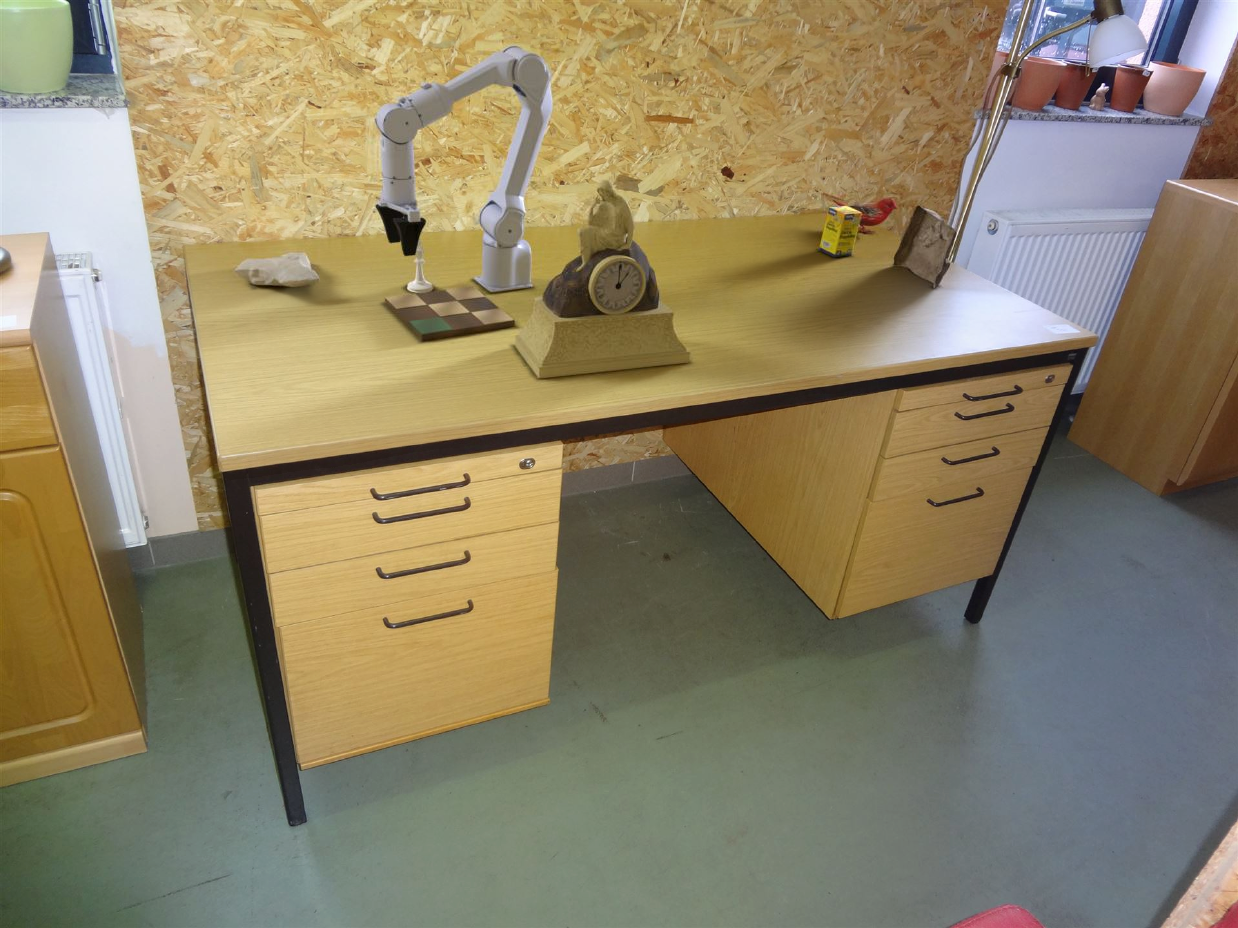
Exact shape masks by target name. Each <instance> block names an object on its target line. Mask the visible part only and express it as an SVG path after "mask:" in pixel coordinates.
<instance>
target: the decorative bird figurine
mask: <svg viewBox="0 0 1238 928" xmlns="http://www.w3.org/2000/svg"><path fill="white" fill-rule="evenodd" d="M832 202H833V203H834V204H836V205H838V207H843V206H848V207H850V208H852V209H855V210H857V211H859V212H862V215H861V219H860V222H859V227H858V230H860V231H863V232H866V233H875V234H876V232H875V231H874V230H873V231H872V230H871V229H868V228H866V227H874V226H877V225H880V224H882V223H884V222H885V221H886V220H887V219H888V217H889V216H890V215H891V214H892V213H893V211H894V210H898V206H897V205H896V203H895V200H894V199H893V198H891V197H890V198H889V197H888V198H884V199H881V200H879V201H877V202H875V203H859V204H852V205H847V204H845V203H842V202H839V201H837V200H835V199H833V200H832Z"/></svg>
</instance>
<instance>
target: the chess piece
mask: <svg viewBox="0 0 1238 928" xmlns="http://www.w3.org/2000/svg"><path fill="white" fill-rule="evenodd" d="M422 244H423V241H422V240H421V238H419V241H418V246H417V250H416V254H415V255H414V256H415V258H414V259H413V263H414V264H416V268H415V269H416V271H415V279H413V280H412V281H409V282H408V283H407V287H406V288H407V290H408V292H411V293H413V294H418V293H426V292H433V290H434V287H433V284H432V282H429V281H427V280H426V279H425V277H424V270H423V264H424V263H426V261H425V259H424V258H423V257H424V253H425V248H424V247H421V245H422Z"/></svg>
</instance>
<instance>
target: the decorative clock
mask: <svg viewBox="0 0 1238 928" xmlns="http://www.w3.org/2000/svg"><path fill="white" fill-rule="evenodd" d="M596 191H597V195H596V196H595V198H593V201H592V202H591V204H590V206H589V209H588V213H587V217H586V224H587V225H582V226H580V227H579V228H577V240H578V254H580V255H579V256H577V257H575V258H574V259H572V260H570V261H569V262H567V264H565V266H564V268H563V269H562V271H561V273H559V274H558V275H555V276H554V277H553V278H552V279H551V280H550V281H549V282H548V283H547V286H546V287H545V290H544V291H543V294H542V296H541V297H534V298H533V307H532V312H531V315H530V317H529V319H528V321H527V323H526V324H525V325H524V326H523V327H522V328H521V330H519V332H518V334H517V335H515V339H514V347H515V349H516V350H517V351H518V352H519V353H520V355H521V357H522V358H523V359H524V360H525V362H526V363H527V364H528V366H529V367H530V369H531V370H532V372H533V373H534V374H535V375H536V377H537V379H549V378H556V377H567V376H575V375H576V376H577V375H584V374H585V375H586V374H593V373H594V374H595V373H603V372H612V371H622V370H631V369H640V368H651V367H659V366H660V367H661V366H669V365H677V364H686V363H687V364H688V363H689V362H690V356H691V351H690V350H689V349H688V348H687V347H685V345H684V344H683V343H682V342H681V341H680V339H679V338H678V335H677V333H676V331H675V329H674V314H675V312H674V311H673V310H672V309H670V307H668V306H667V305H666V304H665V303H664V302H662V301H661V300H660V290H659V286H658V281H657V277H656V273H655V270H654V268H653V267H652V266H651V264H650V262H649V259H648V256H647V255H646V253H645V252H644V251H643V249H642V248H641V246H640V245H638V243H637V242H636V241H634V240H633V239H634V235H635V232H636V225H635V220H634V214H633V211H632V208H631V206H630V204H629V202H628V200H627V199H626V198H624V197H623V196H621V195H620V194H619V193H617V191H616V190H615V186H614V183H613V182H612V181H611V180H609V179H602V180H601V181H599V183H598V184H597V187H596ZM599 196H600V197H601V200H600V198H598V197H599ZM597 205H598V206H597ZM596 206H597V208H596V210H595V211H594V209H595V207H596Z"/></svg>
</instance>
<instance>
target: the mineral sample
mask: <svg viewBox="0 0 1238 928" xmlns="http://www.w3.org/2000/svg"><path fill="white" fill-rule="evenodd" d="M957 234H958V231H957V229H955V228H954V227H952V226H951V224H948V223H946V222H945V219H944V218H943V217H942V216H941V215H940V214H938V213H937V212H936V211H934V210H932V209H929V208H925V207H922V206H921V205H916V206H915V209H914V210H913V212H912V216H910V219H909V223H908V225H907V226H906V227H905V230H904V231H903V235H902V236H901V237H900V244H899V246H898V248H897V250H896V252H895V254H894V257H893V263H892V266H893V267H895V266H901V267H906V268H908V269H909V270H911V272H913V273H914V274H916V275H917V276H919V277H920V278H923V279H925V280H928V281H929V282H931V283H933V286H932V287H933V289H935V288H936V287H938V286H939V285H940V283H941V282H942V280H943V278H944V276H945V275H946V274H947V272H948V270H949V269H950V267H951V263H950V261H949V259H948V257H949V254H950V251H951V249H952V248H953V246H954V243H955V240H956V238H957Z"/></svg>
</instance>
